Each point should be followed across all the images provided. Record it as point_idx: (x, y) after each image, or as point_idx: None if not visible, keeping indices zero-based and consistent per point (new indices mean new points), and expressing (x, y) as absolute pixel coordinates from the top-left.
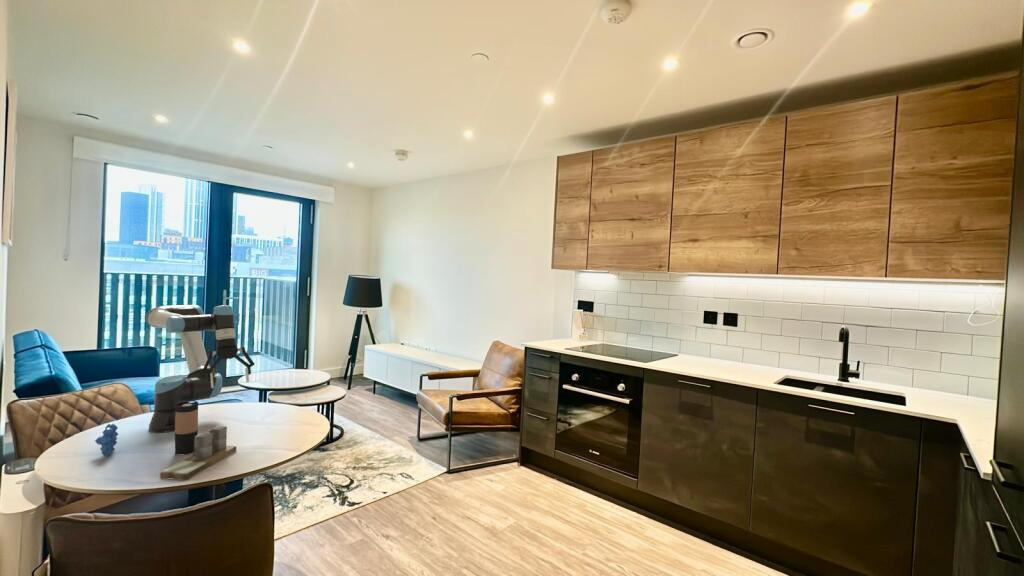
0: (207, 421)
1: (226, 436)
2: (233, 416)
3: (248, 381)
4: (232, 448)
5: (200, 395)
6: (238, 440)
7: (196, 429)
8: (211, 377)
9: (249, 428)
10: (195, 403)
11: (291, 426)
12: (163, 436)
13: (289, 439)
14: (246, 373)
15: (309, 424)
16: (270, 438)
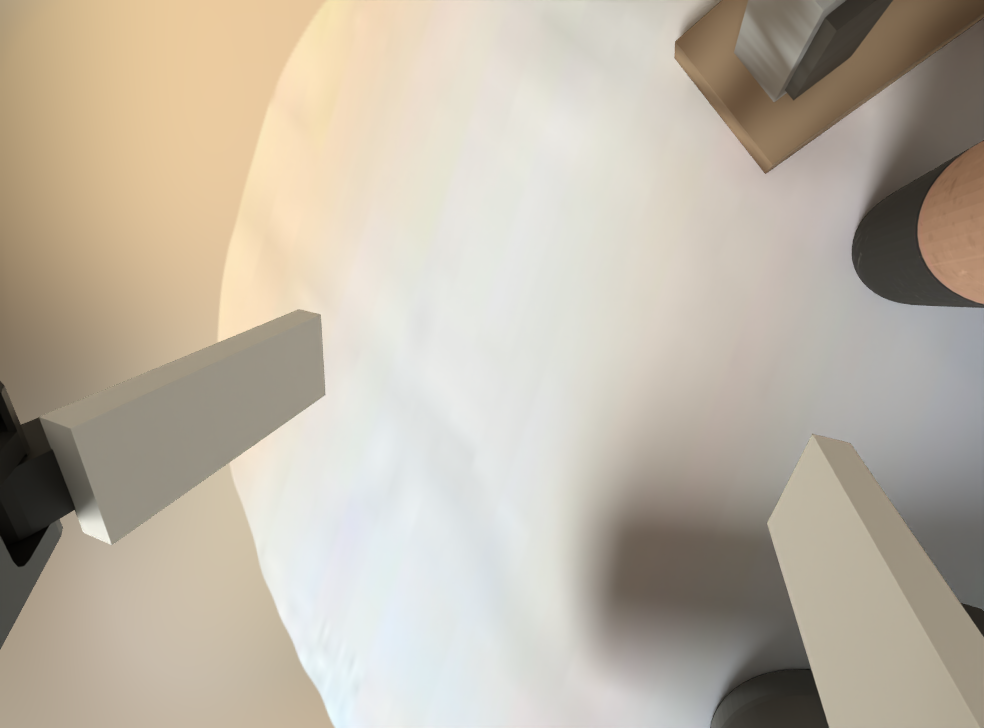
0: (617, 674)
1: (748, 2)
2: (487, 637)
3: (301, 311)
4: (709, 11)
5: None
6: (601, 234)
7: (961, 157)
8: (952, 629)
9: (491, 388)
10: None
11: (337, 270)
12: None
13: (405, 78)
14: (200, 366)
15: (273, 241)
16: (466, 155)
